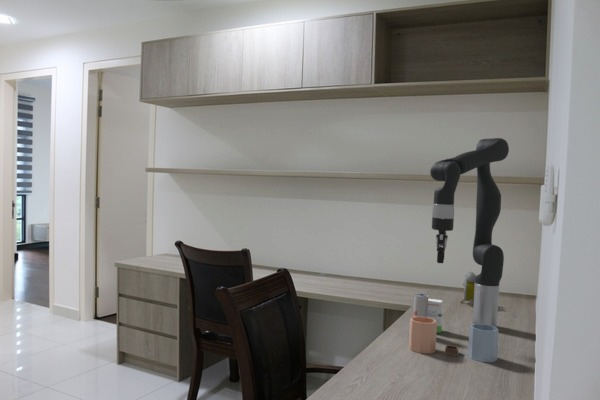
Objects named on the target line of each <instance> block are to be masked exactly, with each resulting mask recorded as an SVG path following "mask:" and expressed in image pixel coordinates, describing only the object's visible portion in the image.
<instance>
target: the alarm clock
mask: <svg viewBox="0 0 600 400" xmlns="http://www.w3.org/2000/svg"><path fill="white" fill-rule="evenodd" d="M475 277H476V274H475V273H474V272H473V271H468V272H466V273H465V275H464V281H463V287H464V288H463V298H462V299H461V300H460V304H462V303H464V302H465V301H466V302H469V303H470V306H471V307H473V306H474V287H475Z"/></svg>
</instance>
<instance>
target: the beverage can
mask: <svg viewBox="0 0 600 400" xmlns="http://www.w3.org/2000/svg"><path fill="white" fill-rule="evenodd" d="M428 299H429V294H428V295H427V294H425V293H424V294H423V293H415V294H414V295H413V314H412V317H415V316H418V317H427V314H428Z"/></svg>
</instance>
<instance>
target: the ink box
mask: <svg viewBox="0 0 600 400" xmlns="http://www.w3.org/2000/svg"><path fill="white" fill-rule="evenodd" d="M443 304H444V300H442V299H441V300H440V299H435V298H428V314H427V317H428V318H432V319H435V320H436V321H437V330H436V334H437V333H438V334H441V333H442V329H443V312H444V311H443V308H444V307H443V306H444V305H443Z"/></svg>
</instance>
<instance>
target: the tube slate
mask: <svg viewBox="0 0 600 400" xmlns="http://www.w3.org/2000/svg"><path fill="white" fill-rule="evenodd" d="M468 333H469V335H468V351H467V353H468V354H467V356H468V357H469V358H470V359H471V360H473V361H474V360H475V361H477V362H481V363H492V364H493V363H494V362H496V361H498V353H499V350H498V349H499V333H500V329H499V328H498V327H497V328H496V327H495V326H491V325H487V324H473V323H472V324H470V325H469V332H468Z"/></svg>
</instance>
